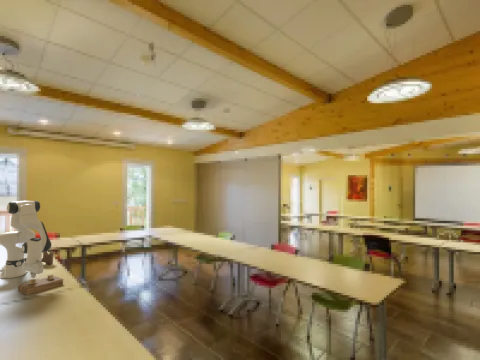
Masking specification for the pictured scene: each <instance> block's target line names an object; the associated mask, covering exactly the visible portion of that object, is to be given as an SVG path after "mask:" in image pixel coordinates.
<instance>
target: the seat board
mask: <svg viewBox="0 0 480 360" xmlns="http://www.w3.org/2000/svg"><path fill="white" fill-rule="evenodd" d="M47 279H48V276H47V277H44V278H41V279H37V280H36V285H32V286H30V285H29V284H30V281H29V282H25V283H21V284H18V287H17V288H18V289H17V291H18V292H19V293H22V294H25V295H27V296H29V295H33V294H35V293H38V292H42V291H45V290H49V289H51V288H54V287H55V286H56V287H58V286H61V285H64V278H62V277H59V276H56V275H53V280H50V281H47Z"/></svg>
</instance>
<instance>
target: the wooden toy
mask: <svg viewBox="0 0 480 360" xmlns="http://www.w3.org/2000/svg"><path fill="white" fill-rule="evenodd" d="M41 253H42V260H41V263H45V264H46V265H49V266H52V265H54V251H49V253H48V251H47V252H41Z"/></svg>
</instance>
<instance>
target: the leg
mask: <svg viewBox="0 0 480 360" xmlns="http://www.w3.org/2000/svg"><path fill="white" fill-rule="evenodd" d="M36 279H37V278H31V279H29V282H30V284H29V285H30V286H32V285H36Z"/></svg>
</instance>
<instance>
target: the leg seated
mask: <svg viewBox="0 0 480 360" xmlns="http://www.w3.org/2000/svg"><path fill="white" fill-rule="evenodd" d="M53 276H54V274H48V275H47V277H48V279H47V281H50V280H53Z"/></svg>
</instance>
